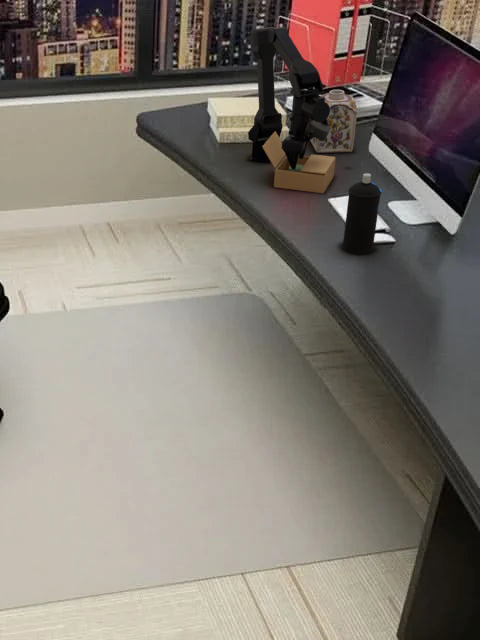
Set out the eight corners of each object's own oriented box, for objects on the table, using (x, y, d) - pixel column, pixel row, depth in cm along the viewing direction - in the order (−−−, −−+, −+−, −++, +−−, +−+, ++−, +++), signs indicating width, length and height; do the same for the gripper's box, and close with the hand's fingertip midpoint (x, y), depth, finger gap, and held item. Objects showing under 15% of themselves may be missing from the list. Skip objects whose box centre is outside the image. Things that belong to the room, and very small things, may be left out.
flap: (275, 167, 294) (274, 167, 294) (287, 151, 304) (286, 152, 304) (263, 146, 292) (262, 146, 292) (275, 131, 302) (274, 131, 302)
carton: (273, 187, 297) (275, 167, 294) (285, 170, 307) (287, 151, 304) (323, 193, 292) (325, 173, 288) (333, 176, 302) (335, 156, 299)
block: (300, 182, 298) (301, 169, 296) (287, 181, 300) (288, 168, 297) (304, 178, 301) (305, 165, 299) (291, 176, 303) (292, 163, 300)
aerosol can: (355, 257, 257) (365, 183, 245) (335, 245, 263) (343, 172, 251) (380, 249, 260) (391, 176, 248) (359, 238, 266) (368, 166, 254)
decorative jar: (353, 152, 318) (359, 96, 308) (316, 154, 318) (321, 97, 308) (345, 140, 328) (351, 85, 318) (309, 141, 328) (314, 86, 318)
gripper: (322, 125, 279) (316, 178, 288) (336, 105, 293) (331, 156, 302) (283, 121, 283) (279, 173, 292) (299, 101, 297) (295, 152, 306)
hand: (297, 163), depth 298 cm, fingers open, 9 cm apart
